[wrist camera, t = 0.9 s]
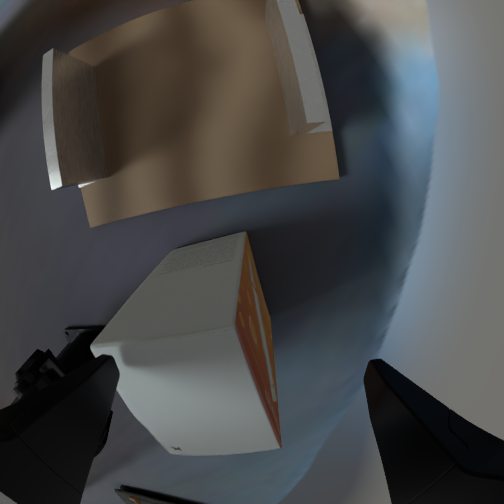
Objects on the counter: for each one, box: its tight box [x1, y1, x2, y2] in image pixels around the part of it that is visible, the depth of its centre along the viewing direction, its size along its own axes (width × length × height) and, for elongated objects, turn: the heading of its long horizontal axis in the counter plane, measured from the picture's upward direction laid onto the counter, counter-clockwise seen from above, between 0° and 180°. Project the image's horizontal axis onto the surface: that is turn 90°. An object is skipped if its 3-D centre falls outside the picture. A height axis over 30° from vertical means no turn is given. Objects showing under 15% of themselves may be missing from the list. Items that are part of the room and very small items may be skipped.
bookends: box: [42, 0, 332, 190], centre depth 14 cm, size 20×10×6 cm, turn 100°
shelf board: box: [69, 0, 340, 228], centre depth 17 cm, size 20×17×1 cm
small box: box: [90, 231, 281, 455], centre depth 16 cm, size 8×6×13 cm
